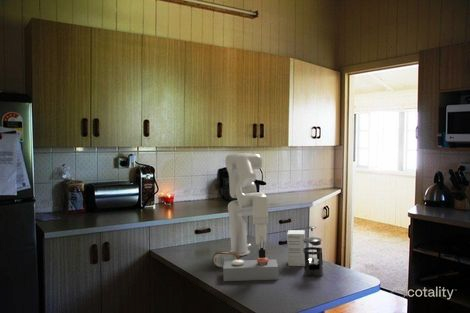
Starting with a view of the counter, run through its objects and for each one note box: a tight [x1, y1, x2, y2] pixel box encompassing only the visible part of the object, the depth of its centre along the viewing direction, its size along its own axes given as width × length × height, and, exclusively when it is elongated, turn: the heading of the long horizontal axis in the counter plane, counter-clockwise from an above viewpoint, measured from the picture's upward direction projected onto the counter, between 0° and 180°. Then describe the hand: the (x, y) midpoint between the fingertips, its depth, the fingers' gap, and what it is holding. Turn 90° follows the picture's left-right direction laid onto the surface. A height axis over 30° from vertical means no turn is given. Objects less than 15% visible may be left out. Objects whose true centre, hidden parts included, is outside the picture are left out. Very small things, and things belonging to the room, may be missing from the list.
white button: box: [232, 259, 244, 266], centre depth 189 cm, size 6×6×5 cm
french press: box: [303, 226, 324, 278], centre depth 188 cm, size 12×9×23 cm
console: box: [222, 258, 280, 282], centre depth 189 cm, size 26×12×6 cm, turn 88°
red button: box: [256, 256, 269, 265], centre depth 189 cm, size 6×6×5 cm
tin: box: [212, 250, 242, 269], centre depth 204 cm, size 15×3×8 cm, turn 71°
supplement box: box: [286, 229, 307, 267], centre depth 206 cm, size 10×9×17 cm
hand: (262, 257), depth 189 cm, fingers closed
